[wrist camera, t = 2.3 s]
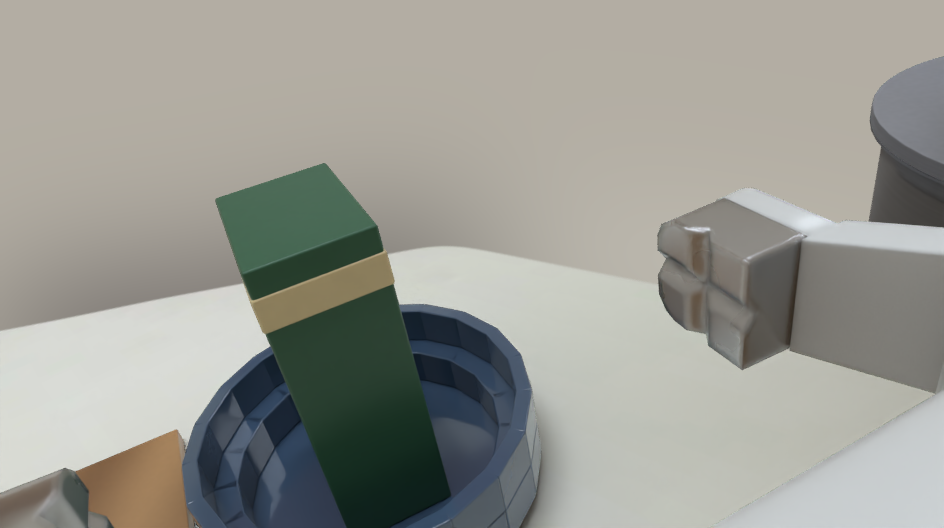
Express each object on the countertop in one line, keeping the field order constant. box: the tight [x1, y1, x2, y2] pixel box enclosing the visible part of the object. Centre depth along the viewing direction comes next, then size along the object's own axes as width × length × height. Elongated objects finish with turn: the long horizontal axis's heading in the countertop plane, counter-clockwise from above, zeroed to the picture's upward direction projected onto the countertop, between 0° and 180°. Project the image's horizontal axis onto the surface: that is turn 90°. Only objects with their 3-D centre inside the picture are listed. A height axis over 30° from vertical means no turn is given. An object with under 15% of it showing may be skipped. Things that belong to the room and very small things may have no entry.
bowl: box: [182, 304, 541, 528], centre depth 27 cm, size 13×13×4 cm
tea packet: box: [215, 163, 451, 528], centre depth 24 cm, size 4×6×12 cm
